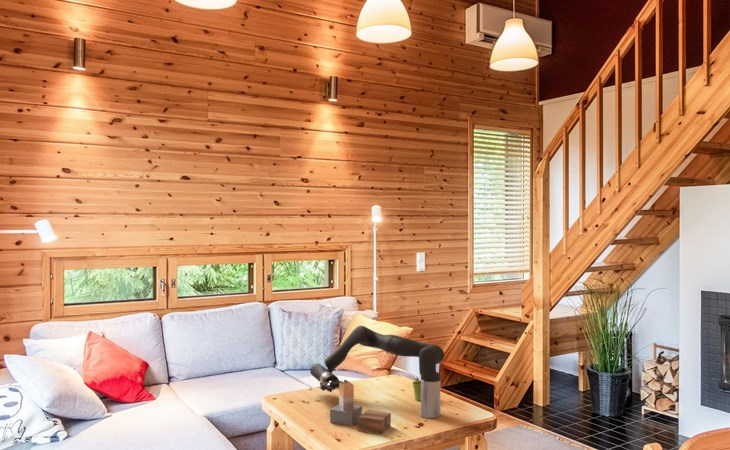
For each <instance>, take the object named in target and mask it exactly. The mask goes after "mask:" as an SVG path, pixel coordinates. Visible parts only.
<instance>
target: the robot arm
mask: <svg viewBox="0 0 730 450" xmlns="http://www.w3.org/2000/svg"><path fill="white" fill-rule="evenodd" d="M357 345H361V346H363V347H366V348H367V347H368V348H373V349H374V348H375V349H379V350H382V351H383V352H386V353H389V354H392V355H395V356H400V357H408V358H409V357H413V358H418V367H419V368H418V369H419V370H418V371H419V375H420V381H421V401H420V416H421V417H422V418H425V419H439V418H440V417H441V373H440V372H438V371H437V365H438V364H440V363H441V362H443V360H444V359H445V352H444V350H443V348H442V347H441V346H440V345H437V344H432V343H425V342H424V343H423V342H420V341H417V340H413V339H409V338H406V337H403V336H400V335H396V334H382V333H379V332H376V331H374V330H372V329H370V328H369V327H366V326H364V325H358V326H357V327H355V328H354V329H353V330H352V331H351V332H350V333H349V335H348V336H347V338H345V339H344V341H343V342H342V343H341V344H340V346H338V348H337V349H335V350H334V351H333V352H332V353H331V354H330V355H329V356H327V357H326V358H325V359H324V365H325V366H326V368H325V367H324V366H323V365H322V364H321V363H314V364H312V366H311V367H310V371H309V372H310V374H311V376H312V377H314V378H315V379H316V380H317V381H318V382H319V389H320V390H321V391H323V392H324V391H328V393H333V392H332V391H334V390H336V389H339V383H342V382H349V380H347V379H344V380H339V378H338V376H337V375H335V373H333V372H334V370H335V369H337V368H338V367H339V366H340V365H341V364H342V363H343V362H344V361H345V360H346V359H347V356H348V354H349V352H350V351H351V350H352V348H354V347H355V346H357Z"/></svg>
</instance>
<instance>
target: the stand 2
mask: <svg viewBox="0 0 730 450" xmlns="http://www.w3.org/2000/svg"><path fill="white" fill-rule="evenodd" d="M391 417H392V416H391V412H385V411H381V410H379V411H378V410H374V409H373V410H372V409H367V410H366V411H365V412H362V415H360V416H359V417H358V422H357V423H358V427H357V428H358V431H359V432H360V431H361V432H365V433H372V434H376V435H377V434H379V435H382V434H383V433H385V432H386V431H387V430H389V428H391V427H392V424H391V423H392V422H391V421H392V420H391V419H392V418H391Z"/></svg>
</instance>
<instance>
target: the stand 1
mask: <svg viewBox="0 0 730 450" xmlns="http://www.w3.org/2000/svg"><path fill="white" fill-rule="evenodd" d="M329 412H330V413H329V421H330V423H331V424H332V423H333V424H337V425H344V426H349V427H352V426H354V425H355V424H356V423H358V417H359V416H360V415H362V414H363V405H359V404H354V409H349V410H343V409H342V408H340V407H339V403H338V404H337V405H335V406H333V407H332V408H330V409H329Z"/></svg>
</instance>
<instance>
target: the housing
mask: <svg viewBox="0 0 730 450" xmlns="http://www.w3.org/2000/svg"><path fill="white" fill-rule="evenodd" d="M354 389H355V387H354V384H353V383H352V382H350V381H348V382H344V381H343V382H342V383H339V388H338V404H339V407H340V408H342V409H343V410H349V409H354V405H355V403H354V402H355V401H354V400H355V396H354V392H355V390H354Z"/></svg>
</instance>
